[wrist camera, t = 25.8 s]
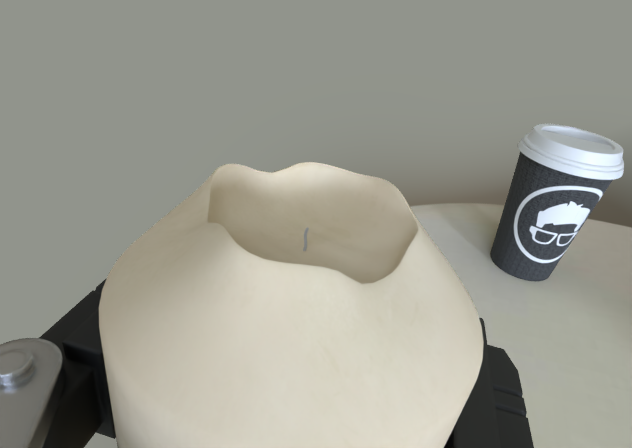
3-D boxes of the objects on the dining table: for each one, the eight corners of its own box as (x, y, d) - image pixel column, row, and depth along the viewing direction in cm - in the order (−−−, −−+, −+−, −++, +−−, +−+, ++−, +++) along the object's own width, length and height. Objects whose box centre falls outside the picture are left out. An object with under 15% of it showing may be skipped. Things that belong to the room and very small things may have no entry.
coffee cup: (575, 268, 50) (642, 145, 42) (548, 303, 44) (621, 166, 36) (497, 231, 55) (543, 115, 47) (462, 257, 49) (510, 129, 41)
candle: (281, 799, 8) (444, 503, 3) (89, 578, 10) (-24, 190, 5) (401, 522, 12) (552, 203, 7) (247, 411, 14) (274, 109, 9)
